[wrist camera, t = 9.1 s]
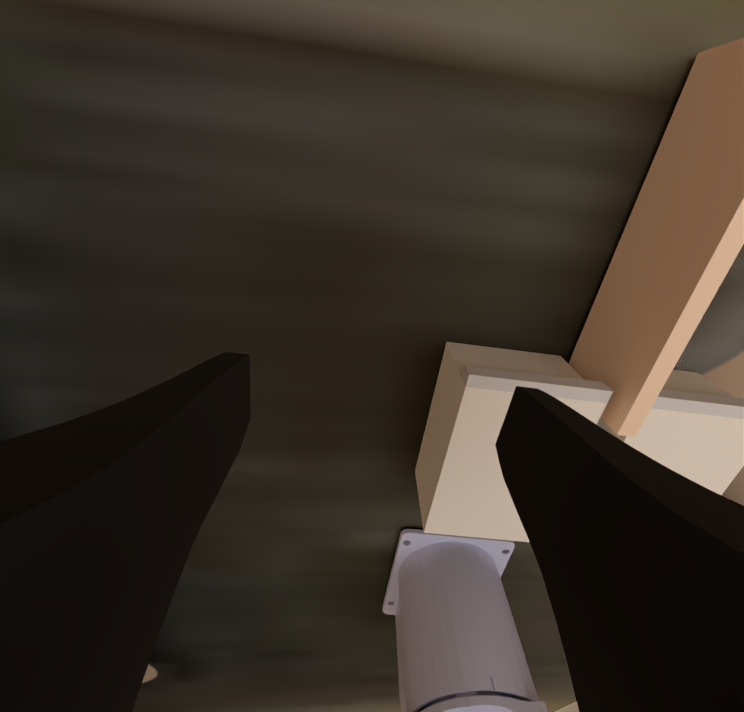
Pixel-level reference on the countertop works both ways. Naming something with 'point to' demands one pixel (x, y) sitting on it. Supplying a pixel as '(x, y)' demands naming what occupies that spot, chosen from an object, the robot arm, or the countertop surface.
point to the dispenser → (589, 398)
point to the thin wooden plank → (671, 244)
